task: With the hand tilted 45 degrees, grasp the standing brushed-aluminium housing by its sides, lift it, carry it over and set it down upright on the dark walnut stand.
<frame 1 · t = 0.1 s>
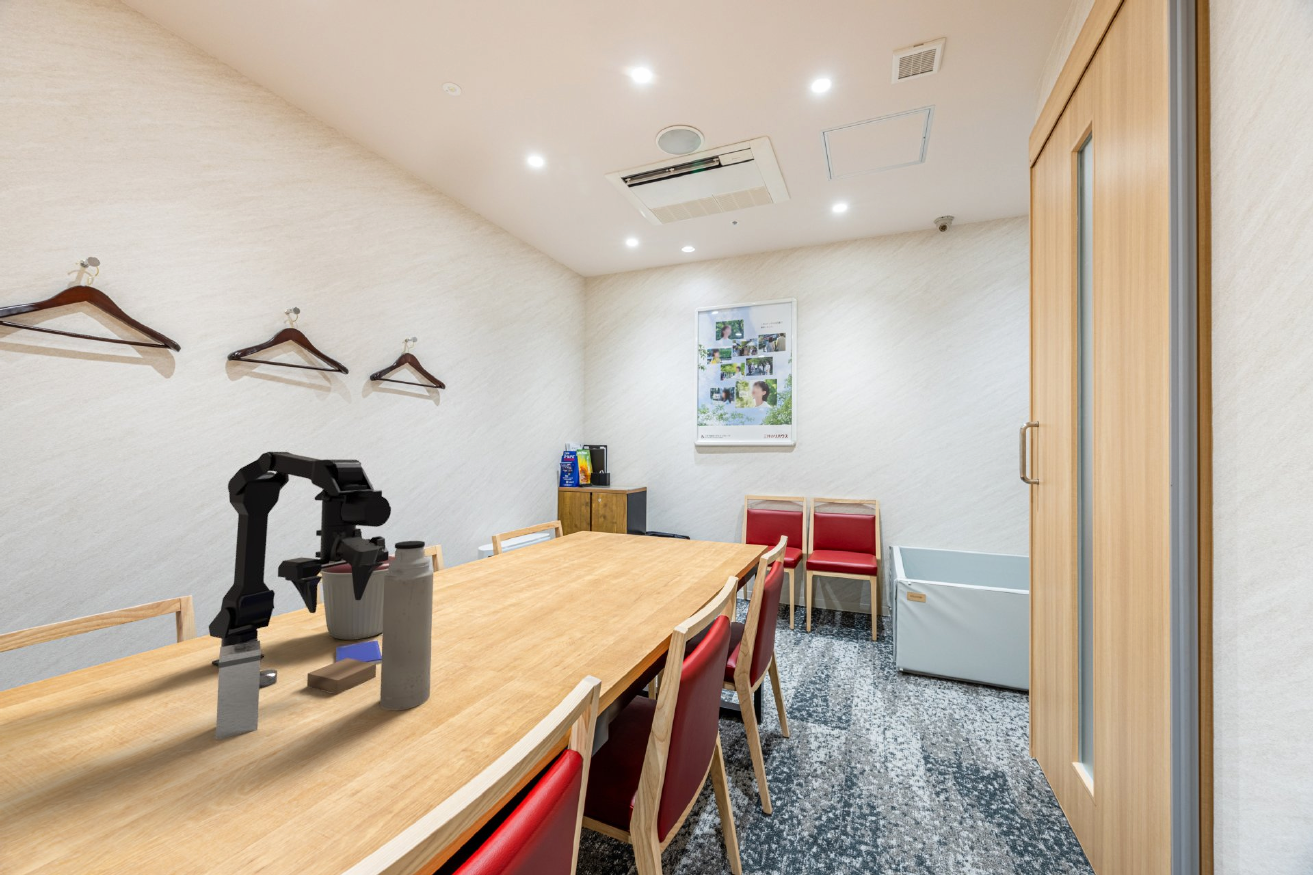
hand: (336, 606, 97), 15 cm above the table, tool pointing down, fingers open, 9 cm apart
housing: (236, 728, 81), on the table
steel puck: (263, 684, 96), on the table
thermos bottle: (405, 700, 91), on the table
canister: (360, 633, 124), on the table
hard drive: (358, 660, 110), on the table
stand: (342, 681, 97), on the table
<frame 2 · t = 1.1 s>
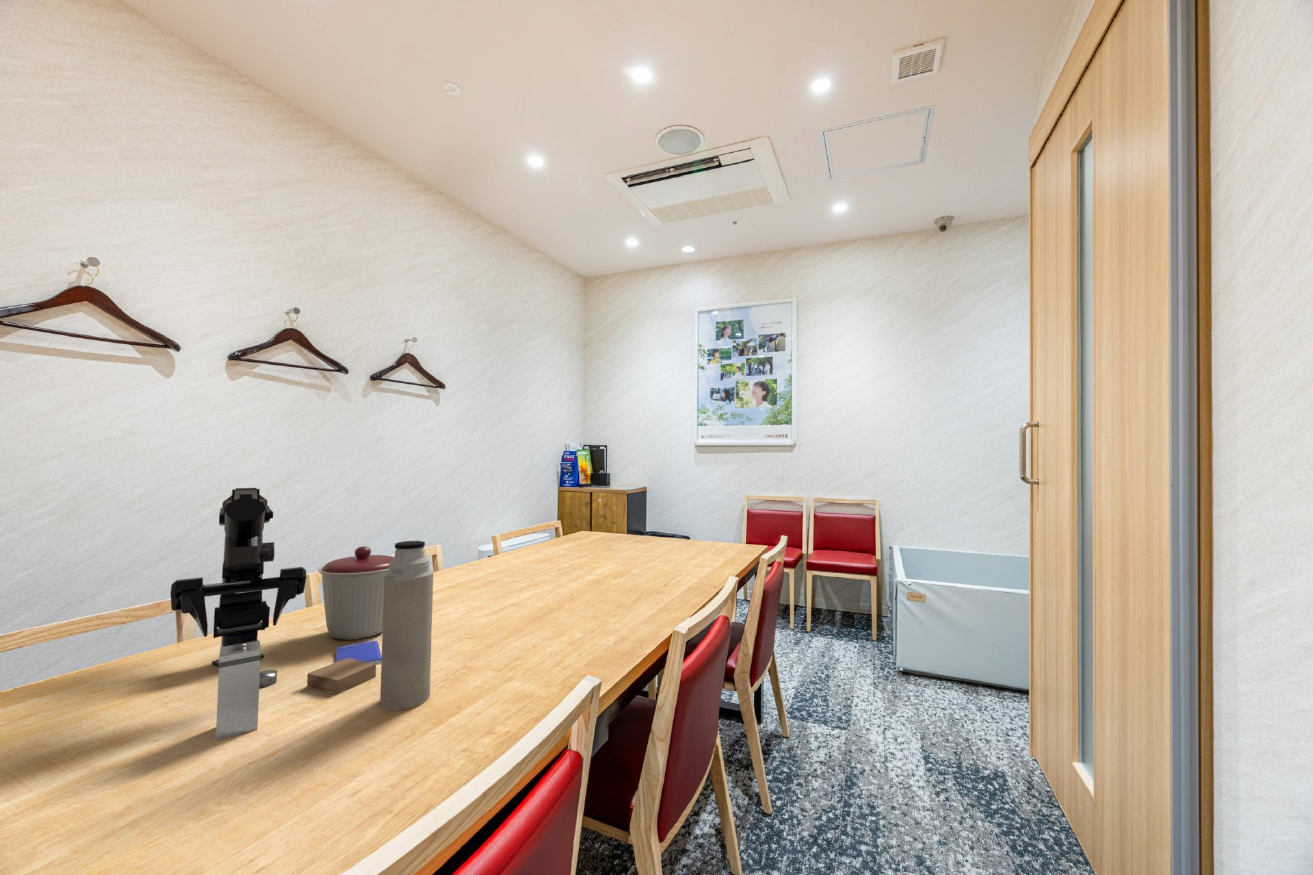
hand: (241, 629, 87), 13 cm above the table, tool tilted 45°, fingers open, 9 cm apart
nothing on the table moved.
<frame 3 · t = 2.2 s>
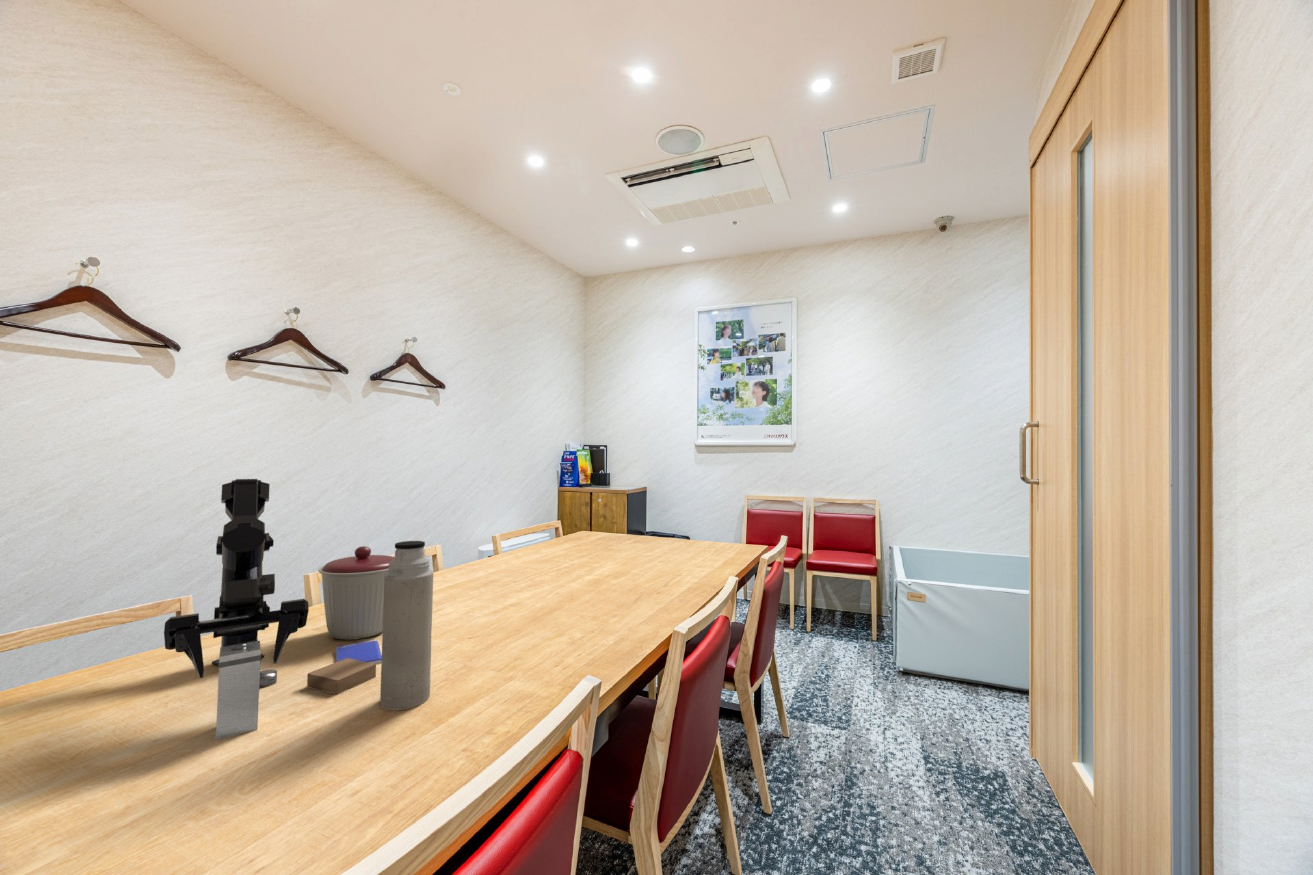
hand: (239, 669, 82), 9 cm above the table, tool tilted 45°, fingers open, 9 cm apart
nothing on the table moved.
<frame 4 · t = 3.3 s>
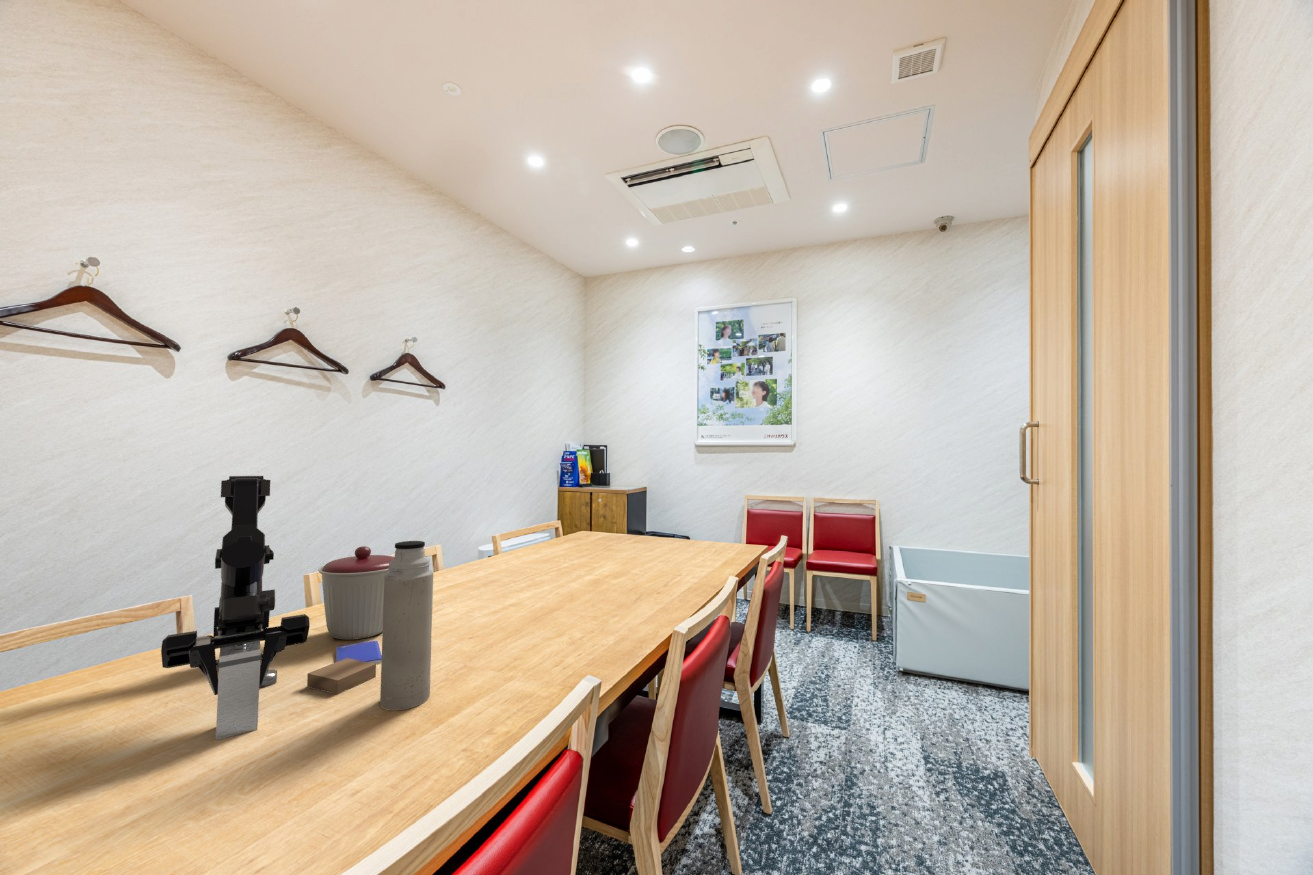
hand: (238, 688, 80), 7 cm above the table, tool tilted 45°, fingers closed on housing, 5 cm apart
housing: (236, 727, 81), on the table, touching gripper
everything else where it was.
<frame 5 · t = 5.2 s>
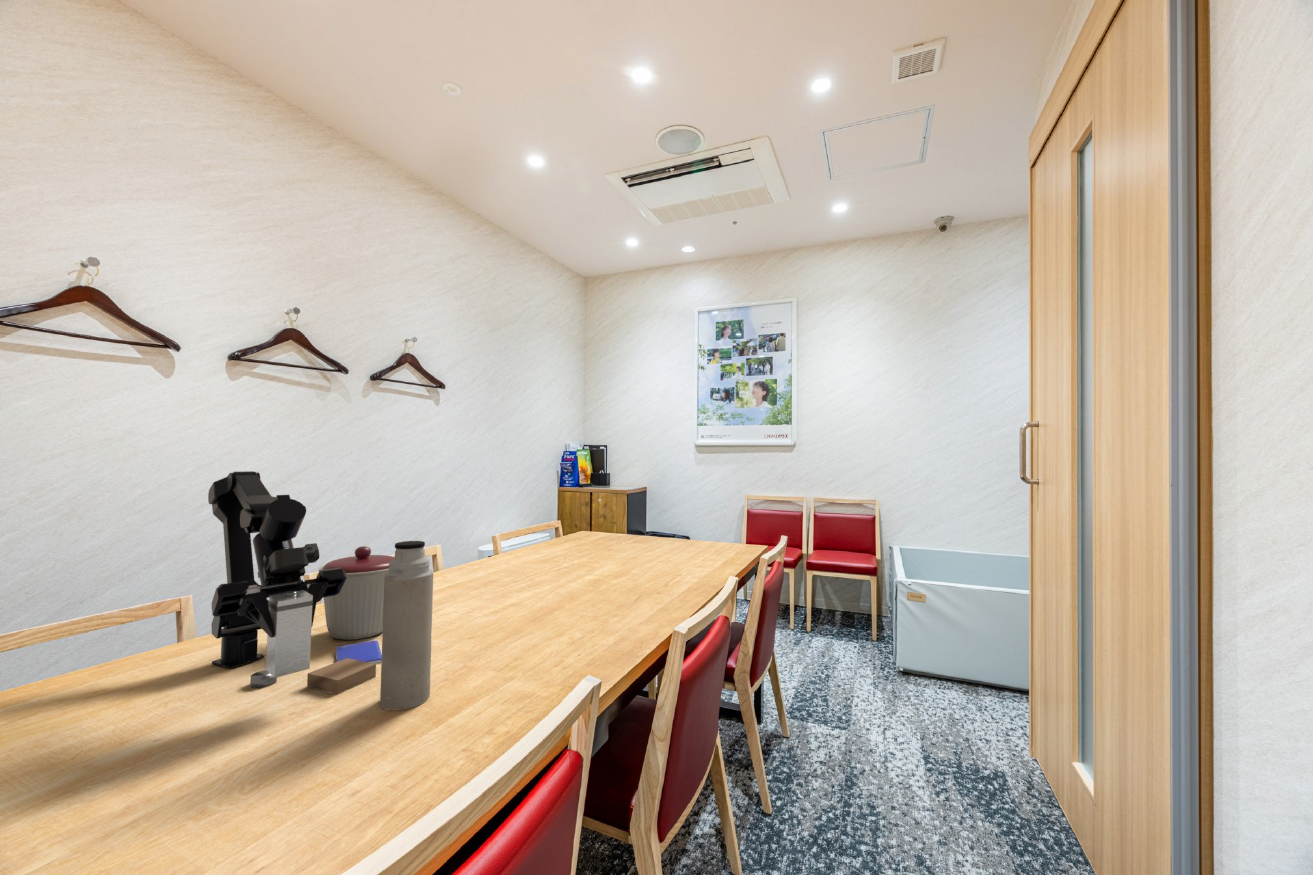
hand: (292, 631, 86), 13 cm above the table, tool tilted 45°, fingers closed on housing, 5 cm apart
housing: (287, 669, 87), point 7 cm above the table, touching gripper
everything else where it was.
when the fingers open (10 cm above the table, at t = 6.9 s): housing drops 1 cm, resting on stand.
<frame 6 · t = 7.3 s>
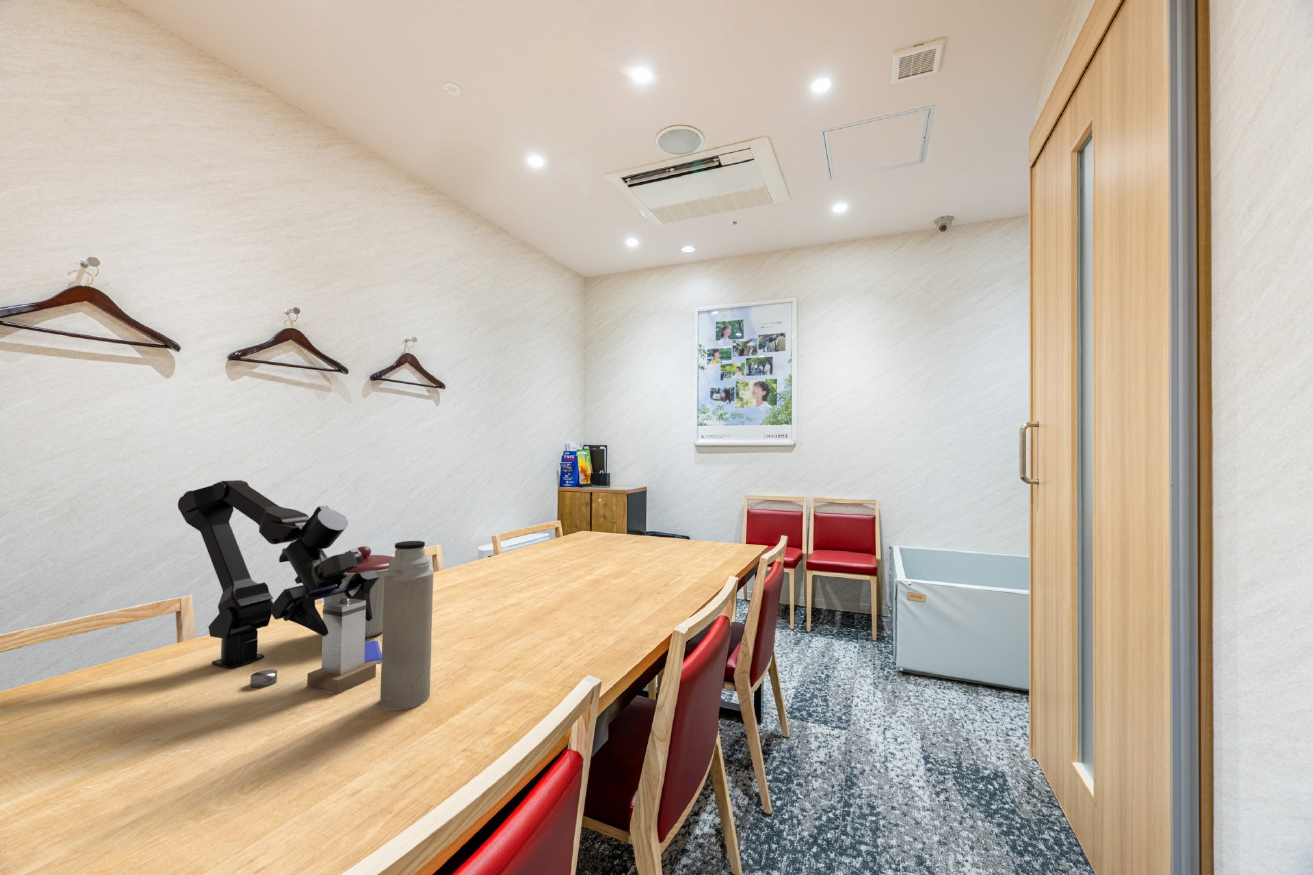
hand: (349, 626, 97), 11 cm above the table, tool tilted 45°, fingers open, 9 cm apart
housing: (343, 668, 98), point 3 cm above the table, touching stand
everything else where it was.
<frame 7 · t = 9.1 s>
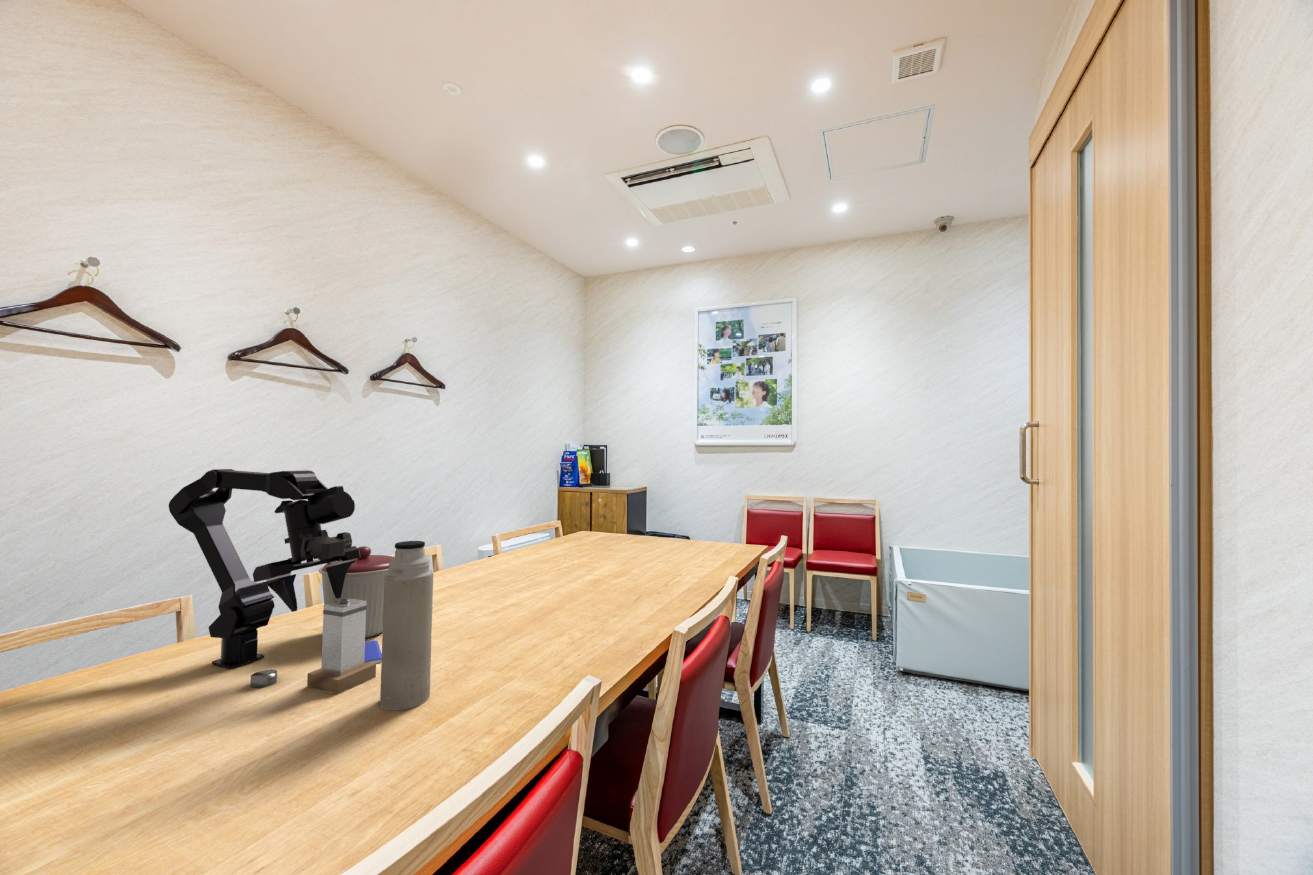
hand: (317, 604, 104), 13 cm above the table, tool tilted 15°, fingers open, 9 cm apart
nothing on the table moved.
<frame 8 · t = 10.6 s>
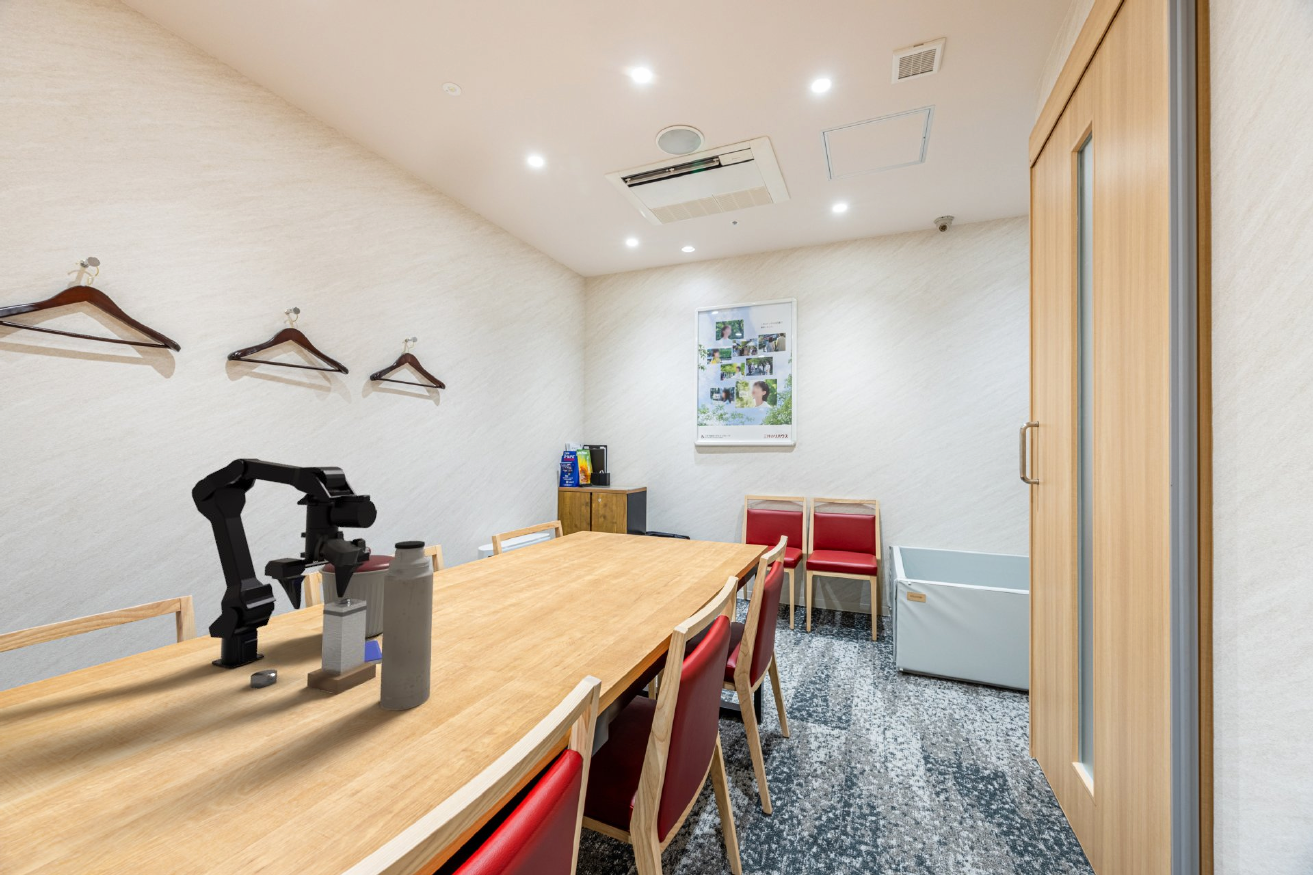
hand: (319, 602, 105), 13 cm above the table, tool pointing down, fingers open, 9 cm apart
nothing on the table moved.
at the end: housing inside the target area on the stand (0.1 cm from its centre), point 2.5 cm above the stand's base; housing tilted 0°; the gripper is holding nothing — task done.
